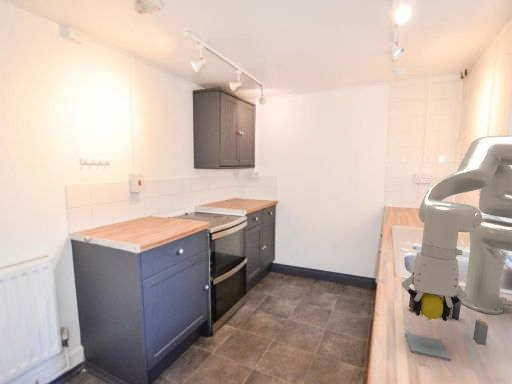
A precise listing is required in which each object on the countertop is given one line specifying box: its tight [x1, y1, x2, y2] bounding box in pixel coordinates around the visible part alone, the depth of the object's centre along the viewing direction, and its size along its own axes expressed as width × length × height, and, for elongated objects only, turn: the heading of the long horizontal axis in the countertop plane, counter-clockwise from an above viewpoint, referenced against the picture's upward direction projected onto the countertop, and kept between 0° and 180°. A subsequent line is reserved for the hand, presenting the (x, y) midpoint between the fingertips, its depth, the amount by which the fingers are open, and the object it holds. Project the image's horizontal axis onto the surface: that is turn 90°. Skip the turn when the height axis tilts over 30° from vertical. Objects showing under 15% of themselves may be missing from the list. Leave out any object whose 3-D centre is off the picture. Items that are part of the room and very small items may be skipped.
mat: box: [404, 331, 451, 362], centre depth 75 cm, size 9×8×1 cm
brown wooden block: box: [408, 289, 453, 317], centre depth 91 cm, size 12×2×6 cm, turn 71°
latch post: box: [472, 318, 489, 346], centre depth 77 cm, size 2×2×7 cm
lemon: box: [420, 293, 443, 321], centre depth 73 cm, size 6×6×8 cm
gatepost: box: [450, 300, 462, 321], centre depth 89 cm, size 2×2×9 cm
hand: (429, 315), depth 74 cm, fingers closed on lemon, 5 cm apart
